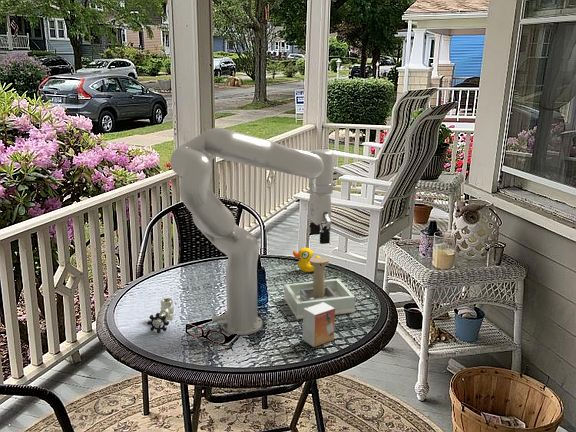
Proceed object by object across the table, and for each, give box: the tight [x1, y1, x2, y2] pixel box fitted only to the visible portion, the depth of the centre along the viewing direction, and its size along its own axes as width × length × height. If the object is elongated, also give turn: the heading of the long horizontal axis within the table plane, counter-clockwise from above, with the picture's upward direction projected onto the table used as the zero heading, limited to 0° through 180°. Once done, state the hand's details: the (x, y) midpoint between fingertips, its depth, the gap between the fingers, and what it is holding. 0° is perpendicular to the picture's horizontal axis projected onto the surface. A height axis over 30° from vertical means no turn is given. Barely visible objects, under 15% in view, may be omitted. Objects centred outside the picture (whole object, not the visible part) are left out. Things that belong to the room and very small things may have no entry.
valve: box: [146, 297, 175, 334], centre depth 168 cm, size 7×7×12 cm
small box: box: [302, 302, 336, 348], centre depth 158 cm, size 8×6×10 cm
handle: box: [309, 257, 330, 299], centre depth 180 cm, size 5×6×15 cm
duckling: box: [292, 247, 321, 273], centre depth 210 cm, size 11×5×10 cm, turn 95°
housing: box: [283, 278, 356, 320], centre depth 181 cm, size 20×16×6 cm
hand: (319, 238), depth 176 cm, fingers open, 9 cm apart
